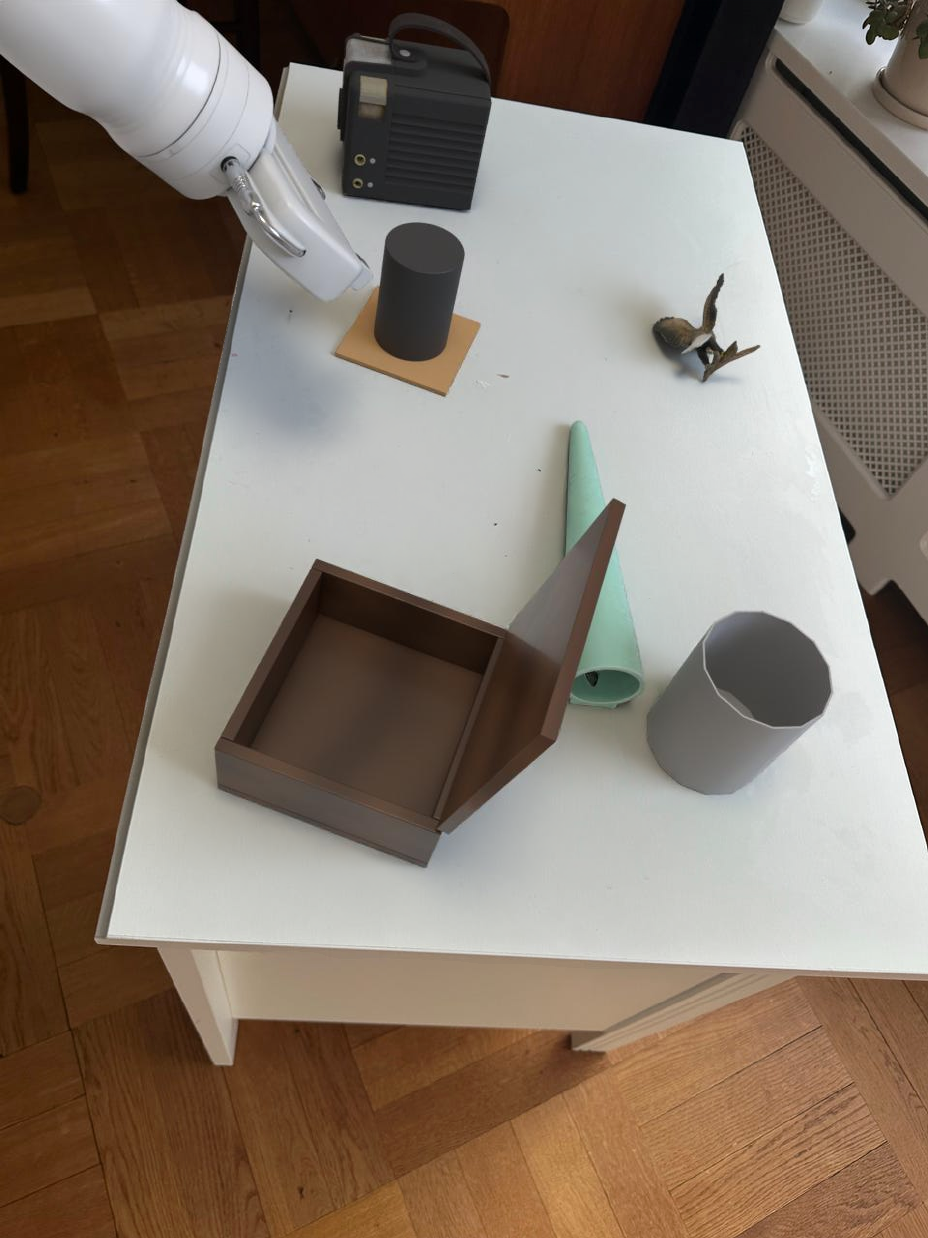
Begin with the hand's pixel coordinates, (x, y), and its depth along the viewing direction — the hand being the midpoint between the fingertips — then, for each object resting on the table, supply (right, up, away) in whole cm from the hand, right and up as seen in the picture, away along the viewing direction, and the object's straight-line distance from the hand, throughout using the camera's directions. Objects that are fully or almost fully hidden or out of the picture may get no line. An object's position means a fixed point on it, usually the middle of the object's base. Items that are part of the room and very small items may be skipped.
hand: (339, 237), depth 70 cm
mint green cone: (+18, -23, +3) cm, 30 cm away
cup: (+26, -37, -4) cm, 45 cm away
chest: (+3, -36, -9) cm, 37 cm away
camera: (+3, +17, +26) cm, 31 cm away
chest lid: (+12, -31, -20) cm, 39 cm away
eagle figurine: (+31, -3, +18) cm, 36 cm away
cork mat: (+5, -4, +12) cm, 14 cm away
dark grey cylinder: (+5, -4, +12) cm, 13 cm away
